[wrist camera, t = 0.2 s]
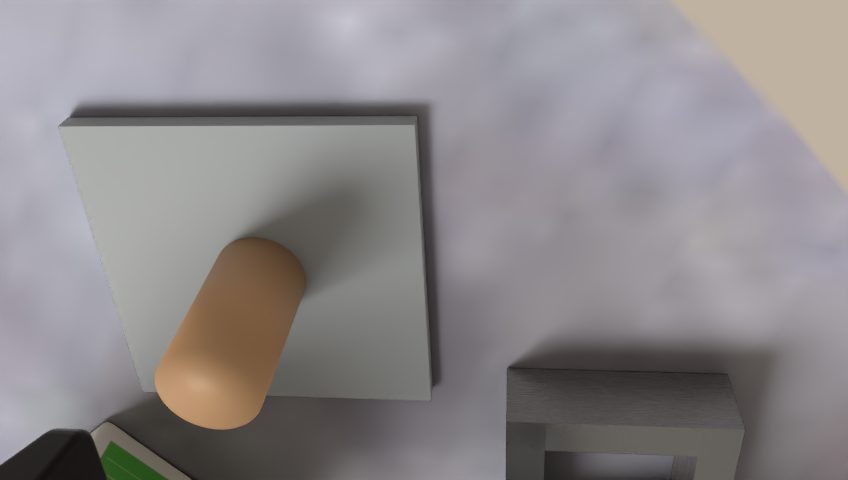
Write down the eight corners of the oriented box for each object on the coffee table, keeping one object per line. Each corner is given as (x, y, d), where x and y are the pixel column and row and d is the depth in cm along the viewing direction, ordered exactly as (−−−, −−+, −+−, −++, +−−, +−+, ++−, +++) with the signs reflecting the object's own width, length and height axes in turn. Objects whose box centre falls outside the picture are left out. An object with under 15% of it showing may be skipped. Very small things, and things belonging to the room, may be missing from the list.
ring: (698, 518, 30) (711, 576, 28) (505, 509, 30) (505, 565, 28) (727, 374, 26) (745, 429, 24) (506, 368, 27) (506, 421, 25)
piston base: (432, 388, 27) (415, 527, 23) (149, 379, 29) (77, 510, 24) (417, 115, 22) (389, 224, 17) (68, 117, 23) (-46, 220, 18)
